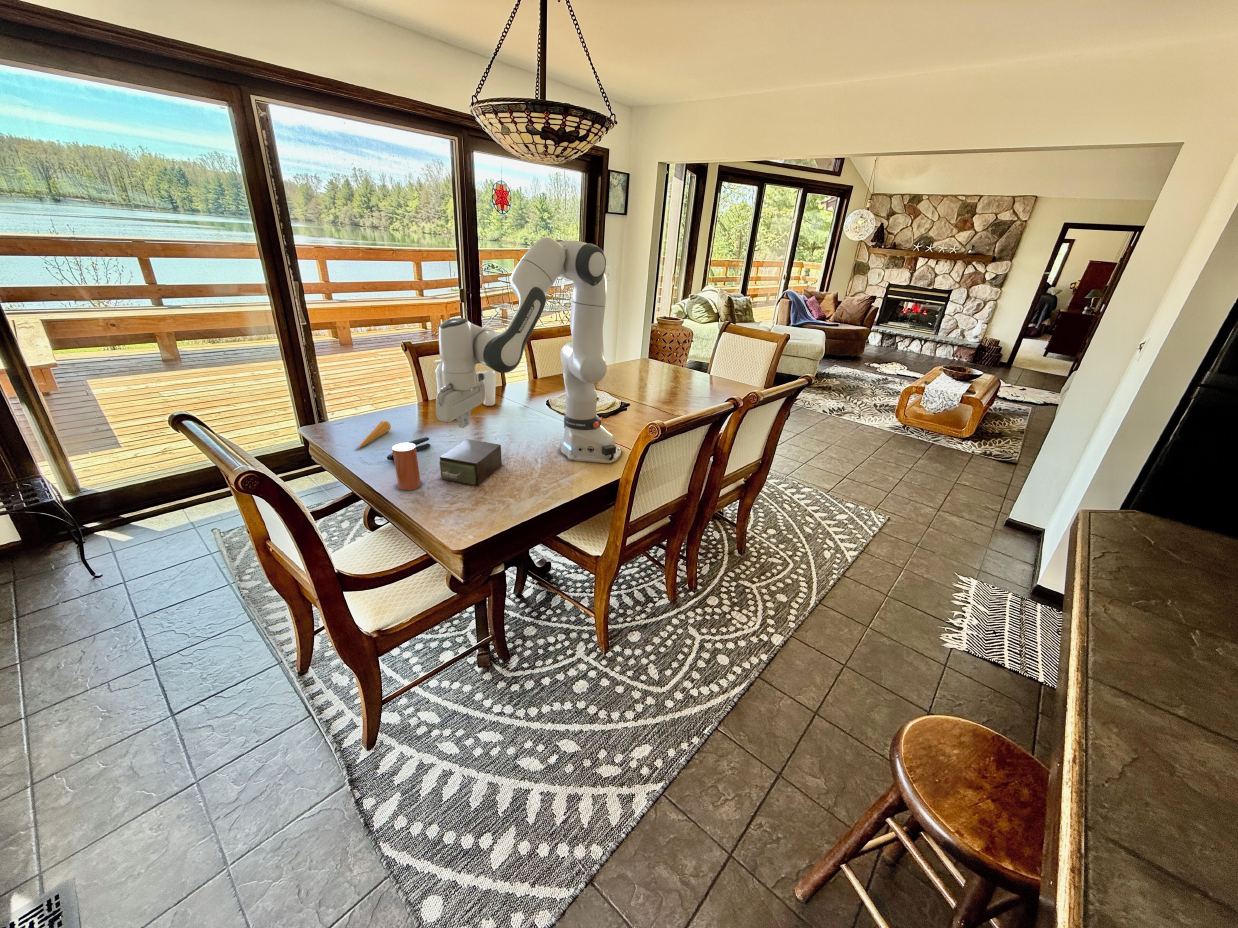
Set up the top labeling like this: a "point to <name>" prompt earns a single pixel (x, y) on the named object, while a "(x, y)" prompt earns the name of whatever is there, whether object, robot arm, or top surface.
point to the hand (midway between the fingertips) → (464, 426)
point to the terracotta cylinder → (406, 466)
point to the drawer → (458, 472)
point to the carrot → (377, 432)
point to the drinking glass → (489, 387)
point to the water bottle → (439, 374)
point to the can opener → (418, 448)
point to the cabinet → (476, 457)
